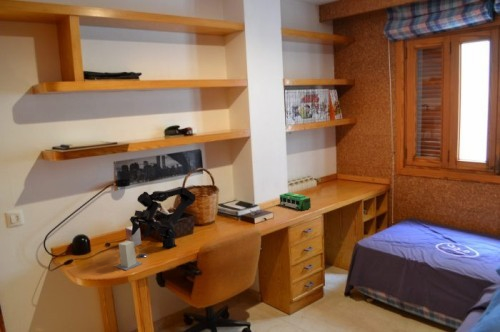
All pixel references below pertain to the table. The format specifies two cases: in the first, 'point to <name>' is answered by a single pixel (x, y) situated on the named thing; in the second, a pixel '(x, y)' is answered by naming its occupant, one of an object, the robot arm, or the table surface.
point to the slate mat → (128, 267)
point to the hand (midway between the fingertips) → (137, 236)
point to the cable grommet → (142, 255)
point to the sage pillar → (127, 253)
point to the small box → (133, 236)
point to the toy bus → (295, 201)
